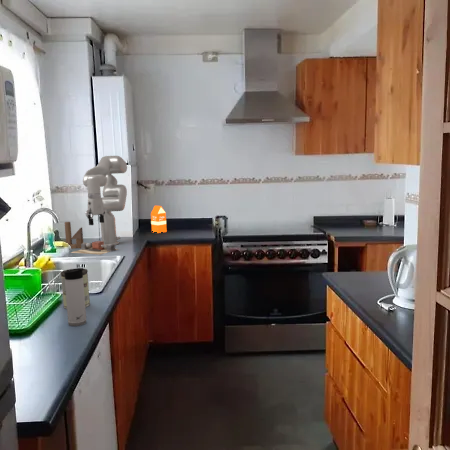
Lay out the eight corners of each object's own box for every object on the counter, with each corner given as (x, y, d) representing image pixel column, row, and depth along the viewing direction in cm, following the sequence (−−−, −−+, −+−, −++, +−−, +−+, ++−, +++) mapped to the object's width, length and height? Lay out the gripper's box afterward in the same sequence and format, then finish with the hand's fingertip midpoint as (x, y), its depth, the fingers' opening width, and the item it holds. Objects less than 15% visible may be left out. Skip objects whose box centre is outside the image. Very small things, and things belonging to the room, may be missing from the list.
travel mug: (82, 326, 181) (78, 270, 179) (65, 326, 183) (60, 270, 180) (90, 320, 187) (86, 266, 185) (73, 320, 189) (69, 266, 186)
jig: (90, 249, 332) (89, 240, 332) (119, 250, 322) (118, 242, 321) (70, 254, 316) (69, 245, 316) (100, 256, 306) (99, 247, 305)
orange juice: (158, 233, 388) (156, 206, 385) (151, 232, 395) (150, 205, 392) (166, 231, 393) (165, 205, 391) (160, 230, 400) (158, 204, 397)
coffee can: (67, 302, 212) (64, 268, 210) (92, 301, 212) (90, 267, 210) (60, 310, 202) (57, 274, 200) (86, 309, 202) (84, 273, 200)
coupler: (96, 248, 326) (95, 240, 325) (106, 249, 322) (105, 241, 322) (90, 250, 322) (90, 242, 321) (100, 250, 318) (100, 242, 317)
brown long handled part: (82, 250, 330) (80, 222, 327) (65, 250, 330) (63, 222, 328) (84, 249, 333) (81, 221, 331) (67, 249, 334) (65, 221, 331)
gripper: (89, 197, 308) (91, 226, 311) (108, 194, 323) (110, 221, 326) (79, 197, 311) (82, 225, 314) (99, 194, 326) (101, 221, 329)
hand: (96, 223), depth 320 cm, fingers open, 9 cm apart
